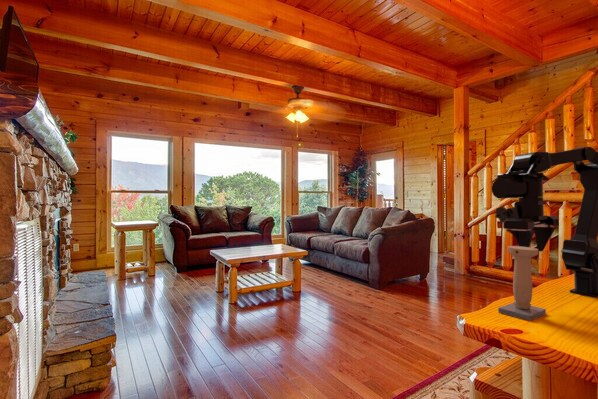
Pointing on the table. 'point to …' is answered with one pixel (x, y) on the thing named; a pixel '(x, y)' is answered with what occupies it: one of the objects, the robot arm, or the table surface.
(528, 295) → the handle
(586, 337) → the table surface
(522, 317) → the plate
